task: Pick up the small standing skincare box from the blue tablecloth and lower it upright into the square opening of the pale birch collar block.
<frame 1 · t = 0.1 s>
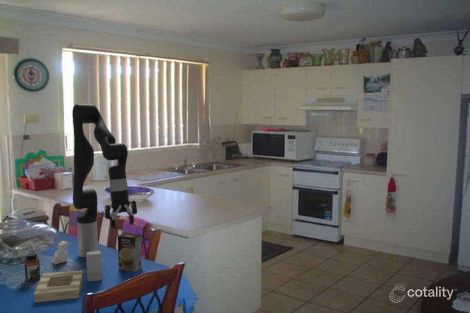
hand: (122, 226, 190), 22 cm above the table, tool pointing down, fingers open, 8 cm apart
collar block: (60, 289, 178), on the table
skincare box: (94, 280, 188), on the table
coffee box: (130, 269, 200), on the table
supplement bottle: (32, 279, 188), on the table
duck figurine: (61, 262, 209), on the table
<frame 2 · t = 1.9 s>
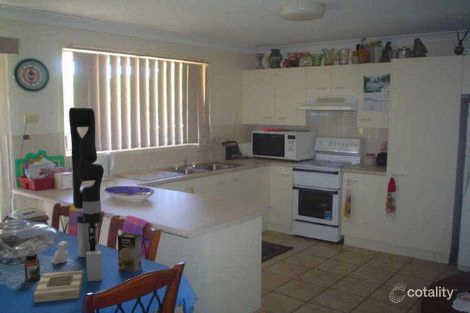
hand: (93, 247, 186), 14 cm above the table, tool pointing down, fingers open, 8 cm apart
nothing on the table moved.
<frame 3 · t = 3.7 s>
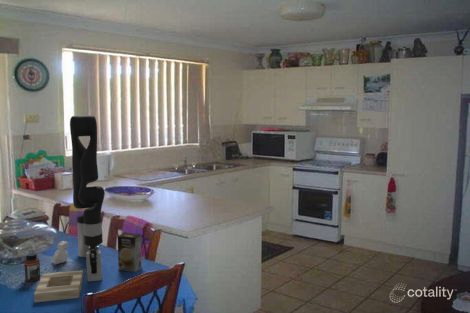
hand: (94, 271, 187), 4 cm above the table, tool pointing down, fingers closed on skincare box, 4 cm apart
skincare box: (94, 280, 188), on the table, touching gripper
everything else where it was.
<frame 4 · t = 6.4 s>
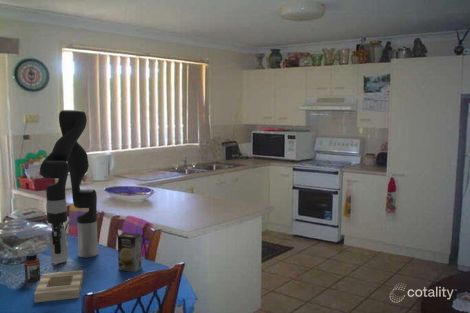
hand: (58, 251, 176), 16 cm above the table, tool pointing down, fingers closed on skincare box, 4 cm apart
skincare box: (59, 260, 176), point 12 cm above the table, touching gripper
everything else where it was.
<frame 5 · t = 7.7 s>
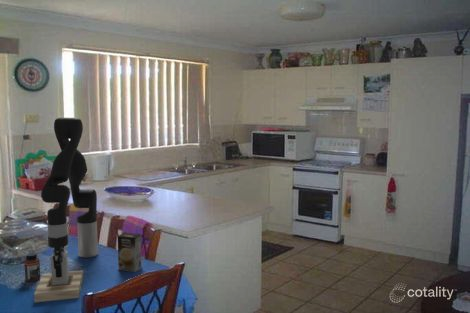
hand: (59, 274, 177), 6 cm above the table, tool pointing down, fingers closed on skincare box, 4 cm apart
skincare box: (60, 284, 178), point 2 cm above the table, touching gripper
everything else where it was.
when the fingers open (5 cm above the table, at t = 9.0 s): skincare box drops 1 cm, resting in collar block.
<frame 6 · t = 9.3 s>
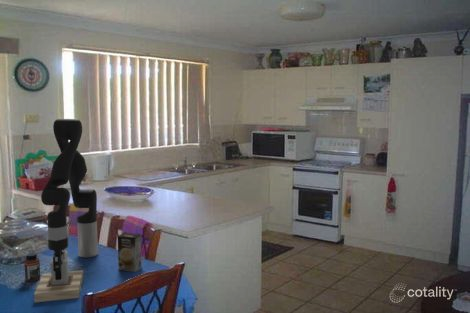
hand: (59, 275, 177), 6 cm above the table, tool pointing down, fingers open, 7 cm apart
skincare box: (60, 289, 178), resting in collar block
everything else where it was.
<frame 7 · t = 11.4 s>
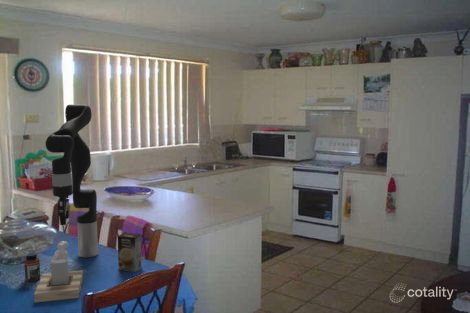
hand: (64, 221, 181), 27 cm above the table, tool pointing down, fingers open, 8 cm apart
nothing on the table moved.
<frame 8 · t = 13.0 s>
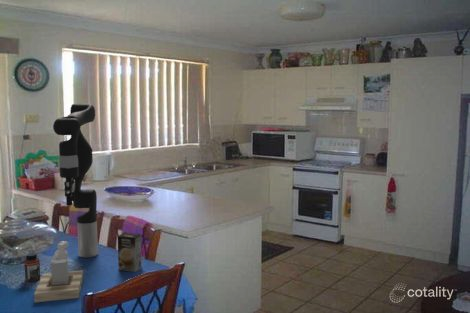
hand: (70, 203, 186), 33 cm above the table, tool pointing down, fingers open, 8 cm apart
nothing on the table moved.
at the end: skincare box inside the target area on the collar block (0.1 cm from its centre), point 0.0 cm above the collar block's base; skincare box tilted 0°; the gripper is holding nothing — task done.
